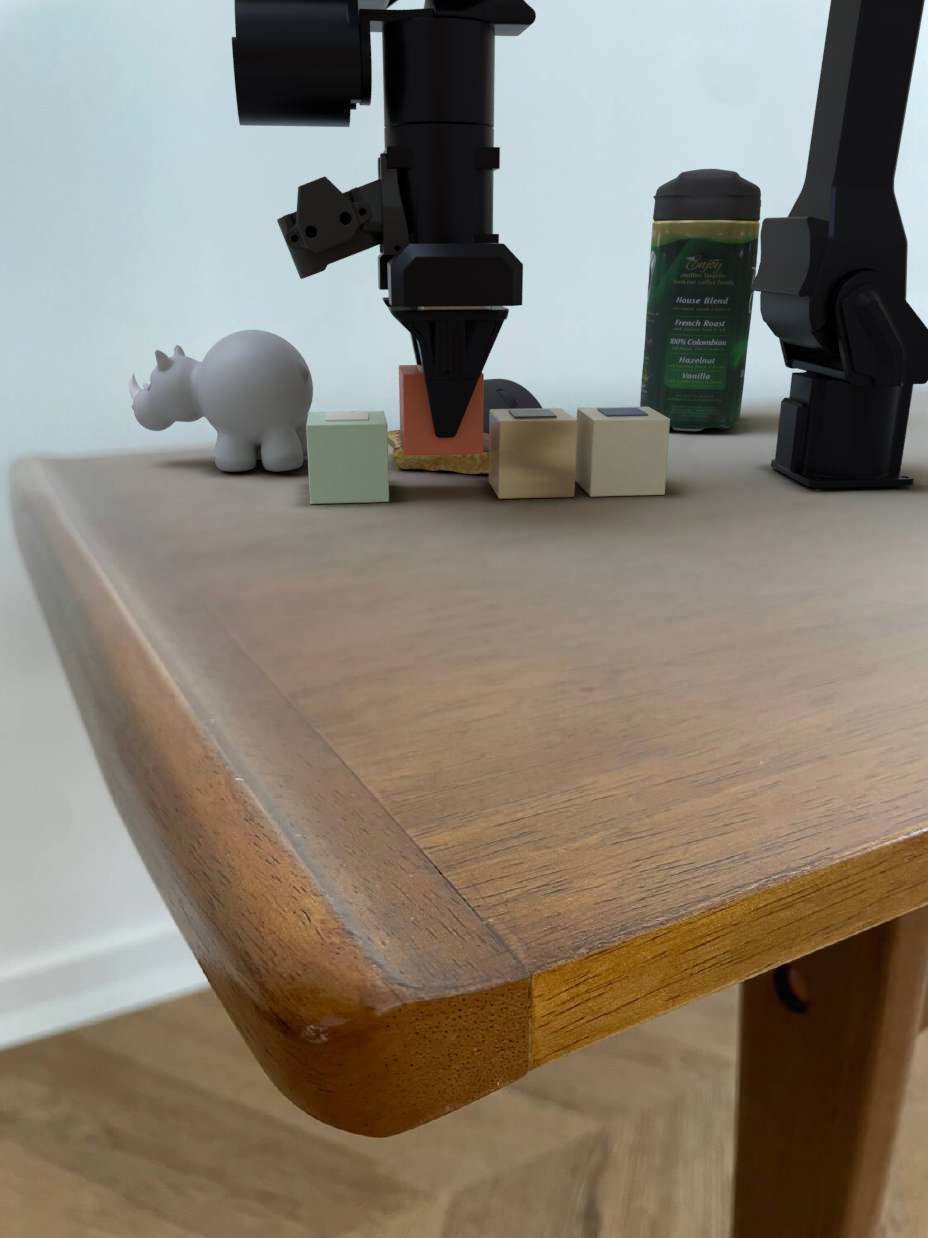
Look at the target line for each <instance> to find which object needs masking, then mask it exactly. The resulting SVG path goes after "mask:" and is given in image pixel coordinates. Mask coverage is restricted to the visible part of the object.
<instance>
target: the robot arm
mask: <svg viewBox="0 0 928 1238" xmlns="http://www.w3.org/2000/svg"><path fill="white" fill-rule="evenodd" d="M233 1H234V2H233V3H234V27H235V28H234V29H235V36H231V51H232V64H233V76H234V90H235V99H236V108H237V109H236V110H237V116H238V117H237V118H238V122H239V126H248V127H249V126H251V127H252V126H254V127H255V126H256V127H257V126H258V127H315V128H318V127H321V128H323V127H324V128H327V127H328V128H350V125H351V110H352V111H353V110H354V111H356V110H357V104H359V106H365V107H367V106H368V107H369V106H371V104H372V94H373V93H372V89H373V87H372V85H373V68H372V67H373V65H372V64H373V62H372V61H373V60H372V38H371V33H381V43H382V44H381V46H382V47H381V49H382V50H381V51H382V85H383V86H382V88H383V126H384V128H383V135H384V138H383V139H384V140H383V141H384V150H383V152H381V153H380V154H379V157H378V158H377V179H376V180H372V181H370V182H368V183H365V184H363V185H360V186H357V187H356V186H355V187H353V188H351V189H349V190H347V191H345V192H342V191H341V190H340V189H339V188H338V187H337V186H336V185H335V184H334V183H333V182H332V181H331V180H330V179H328V177H326V176H322V177H319V178H316V179H314V180H312V181H309V182H307V183H304V184H301V185H299V186H298V187H297V199H296V211H293V212H291V213H287V214H285V215H283V216H281V217H280V218H277V219H276V222H277V224H278V226H279V228H280V232H281V234H282V237H283V239H284V242H285V244H286V247H287V249H288V252H289V254H290V256H291V259H292V261H293V264H294V266H295V269H296V271H297V274H298V277H299V279H300V280H303V279H306V278H309V277H311V276H314V275H316V274H319V273H322V272H324V271H326V269H327V267H328V266H329V265H331V264H333V263H336V262H339V261H341V260H344V259H346V258H349V257H351V256H354V255H357V254H359V253H361V252H364V251H367V250H369V249H371V248H374V247H377V246H379V253H380V254H378V256H377V286H378V287H377V288H378V290H379V291H388V296H386V297H384V296H383V297H381V298H382V301H383V303H384V305H385V306H386V307H387V308H388V311H389V313H390V314H391V316H393V318H394V319H395V320H396V321H397V322H398V323H399V324H401V325H402V326H403V327H404V329H406V331H408V333H409V335H410V340H411V345H412V349H413V355H414V359H415V365H422V369H423V374H424V379H425V385H426V390H427V395H428V401H429V406H430V411H431V416H432V422H433V427H434V432H435V435H436V436H437V437H438V438H453V437H455V436H456V434H457V431H458V429H459V426H460V424H461V422H462V419H463V417H464V414H465V412H466V409H467V407H468V404H469V402H470V400H471V397H472V395H473V392H474V390H475V387H476V385H477V382H478V380H479V378H480V376H481V373H483V370H484V369H485V366H486V363H487V361H488V359H489V357H490V354H491V352H492V350H493V347H494V345H495V343H496V341H497V338H498V336H499V333H500V331H501V329H502V327H503V324H504V322H505V321H506V320H508V317H509V316H508V315H509V312H510V309H509V308H507V307H518V306H519V307H520V306H523V294H524V293H523V291H524V290H523V289H524V287H523V286H524V285H523V283H524V263H522V261H521V260H520V259H519V258H518V257H517V255H515V254H514V253H513V252H512V250H511V249H510V248H509V247H508V246H507V245H506V244H505V243H501V242H500V234H499V233H494V185H495V184H494V183H495V180H494V179H495V178H494V177H495V176H494V174H495V173H494V172H495V171H498V170H500V169H501V147H500V146H495V82H496V81H495V79H496V78H495V77H496V74H495V73H496V71H495V70H496V66H495V63H496V37H518V36H520V35H522V34H523V33H524V32H525V31H526V30H527V29H528V28H529V27H531V26H532V25H533V24H534V23H535V21H536V18H537V13H536V11H535V10H534V8H533V7H532V6H530V4H529V3H527V2H526V0H424V4H423V8H411V9H408V8H407V9H390V7H392V6H393V5H395V4H396V3H397V2H398V1H399V0H233ZM925 3H926V0H830V4H829V11H828V18H827V24H826V32H825V37H824V38H825V39H824V46H823V52H822V60H821V66H820V72H819V82H818V88H817V93H816V94H817V95H816V101H815V107H814V108H815V109H814V115H813V123H812V128H811V136H810V143H809V150H808V157H807V163H806V172H805V177H804V182H803V185H802V188H801V190H800V193H799V194H798V196H797V198H796V199H795V202H794V204H793V206H792V208H791V209H790V211H789V213H788V215H787V216H786V217H785V216H784V217H782V216H779V217H765V218H763V220H762V223H761V229H760V233H759V236H760V237H759V238H760V260H759V265H758V270H757V272H756V276H755V279H754V281H753V283H752V285H751V290H752V291H754V292H759V294H760V295H759V307H760V308H759V310H760V315H761V318H762V321H763V322H764V323H765V324H766V326H767V327H768V328H769V330H770V331H771V332H772V334H773V335H774V336H775V337H777V338H778V341H779V344H780V348H781V354H782V357H783V362H784V365H785V367H786V368H788V369H793V370H795V369H797V370H800V372H799V371H798V372H797V371H796V372H791V378H790V386H789V396H788V397H784V398H783V399H782V400H781V401H780V409H779V417H778V418H779V419H778V428H777V437H776V446H775V455H774V456H775V457H774V458H772V459H771V460H770V467H771V468H773V469H775V470H776V471H778V472H781V473H782V474H784V475H786V476H787V477H790V478H791V479H792V480H795V481H797V482H799V483H800V484H803V486H804V485H805V486H806V487H808V488H813V489H833V488H871V487H872V488H873V487H875V488H876V487H909V486H910V487H911V486H914V482H915V481H914V480H915V477H914V476H911V475H910V474H907V473H905V472H902V471H901V470H902V464H903V459H904V458H903V457H904V450H905V444H906V437H907V430H908V424H909V417H910V411H911V410H910V409H911V405H912V398H913V396H912V395H913V391H914V385H925V384H927V383H928V327H927V325H926V324H925V323H924V322H923V321H922V319H921V318H920V316H919V315H918V314H917V313H916V312H915V310H914V308H912V306H911V305H910V304H909V302H908V301H907V291H908V289H907V287H908V286H907V285H908V284H907V283H908V253H909V252H908V249H909V248H908V246H909V244H908V238H907V234H906V231H905V227H904V223H903V220H902V215H901V212H900V208H899V204H898V200H897V197H896V194H895V193H896V191H895V178H896V172H897V167H898V166H897V165H898V159H899V154H900V148H901V142H902V135H903V130H904V125H905V118H906V112H907V107H908V101H909V95H910V90H911V84H912V77H913V72H914V67H915V60H916V54H917V48H918V43H919V37H920V32H921V31H920V30H921V26H922V19H923V14H924V8H925Z"/></svg>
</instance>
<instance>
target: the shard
mask: <svg viewBox="0 0 928 1238" xmlns="http://www.w3.org/2000/svg"><path fill="white" fill-rule="evenodd" d="M388 446H390V447H391V448H392V455H393V460H394V464H395V466H396V467H398V468H400V469H402V470H425V471H428V472H429V471H431V472H436V471H444V472H445V471H447V472H454V473H459V474H463V475H464V474H466V475H479V474H489V434H487V433H483V454H454V455H408V456H405V455H404V452H403V448H402V445H401V441H400V429H395V430H389V431H388Z"/></svg>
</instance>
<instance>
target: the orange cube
mask: <svg viewBox="0 0 928 1238" xmlns="http://www.w3.org/2000/svg"><path fill="white" fill-rule="evenodd" d="M484 380H485V375H484V372H482V373H481V376H480V378H479V380H478V382H477V385H476V387H475V390H474V392H473V395H472V397H471V400H470V402H469V404H468V407H467V409H466V412H465V414H464V417H463V419H462V422H461V424H460V426H459V429H458V431H457V434H456V436H455V437H453V438H438V437H437V436H436V435H435V432H434V427H433V422H432V416H431V411H430V406H429V401H428V395H427V390H426V385H425V379H424V374H423V369H422V365H417V364H399V365H398V397H399V399H398V403H399V430H400V441H401V445H402V448H403V452H404V455H405V456H408V455H454V454H483V405H484Z"/></svg>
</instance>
